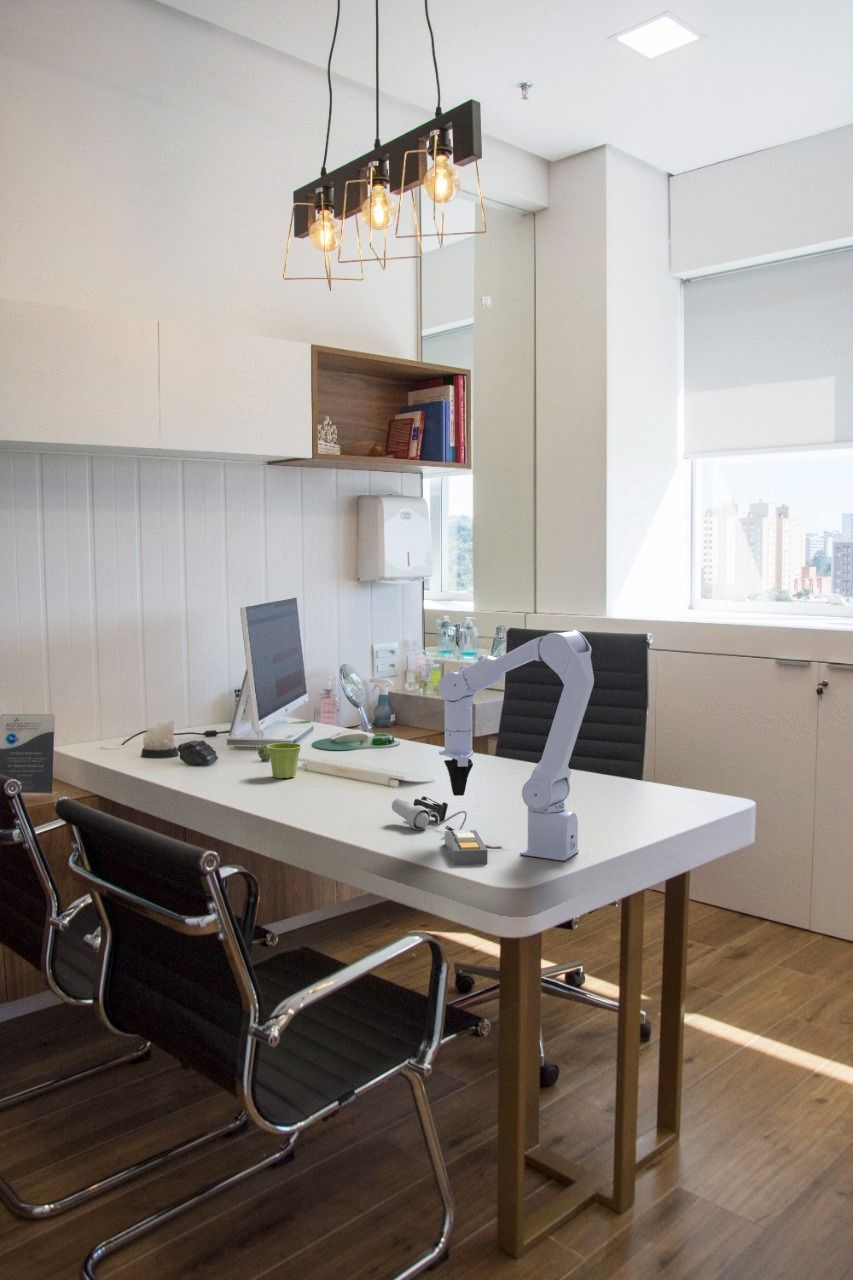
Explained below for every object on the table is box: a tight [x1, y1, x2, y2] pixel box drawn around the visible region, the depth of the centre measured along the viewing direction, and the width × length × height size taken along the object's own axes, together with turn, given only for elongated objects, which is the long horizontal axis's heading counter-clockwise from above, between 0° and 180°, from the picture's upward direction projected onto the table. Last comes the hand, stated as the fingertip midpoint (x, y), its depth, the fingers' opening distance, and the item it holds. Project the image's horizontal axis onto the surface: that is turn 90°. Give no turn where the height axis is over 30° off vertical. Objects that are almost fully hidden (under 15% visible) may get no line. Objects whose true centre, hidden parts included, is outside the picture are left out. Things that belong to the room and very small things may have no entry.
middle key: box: [456, 833, 475, 843], centre depth 208 cm, size 3×3×2 cm
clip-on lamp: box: [391, 795, 468, 831], centre depth 229 cm, size 12×6×18 cm
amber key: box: [459, 842, 479, 850], centre depth 203 cm, size 3×3×2 cm
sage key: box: [453, 829, 471, 837], centre depth 213 cm, size 3×3×2 cm
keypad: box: [444, 829, 488, 865], centre depth 208 cm, size 15×6×3 cm, turn 6°
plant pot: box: [266, 742, 302, 779], centre depth 285 cm, size 9×9×9 cm
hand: (458, 794), depth 218 cm, fingers closed
